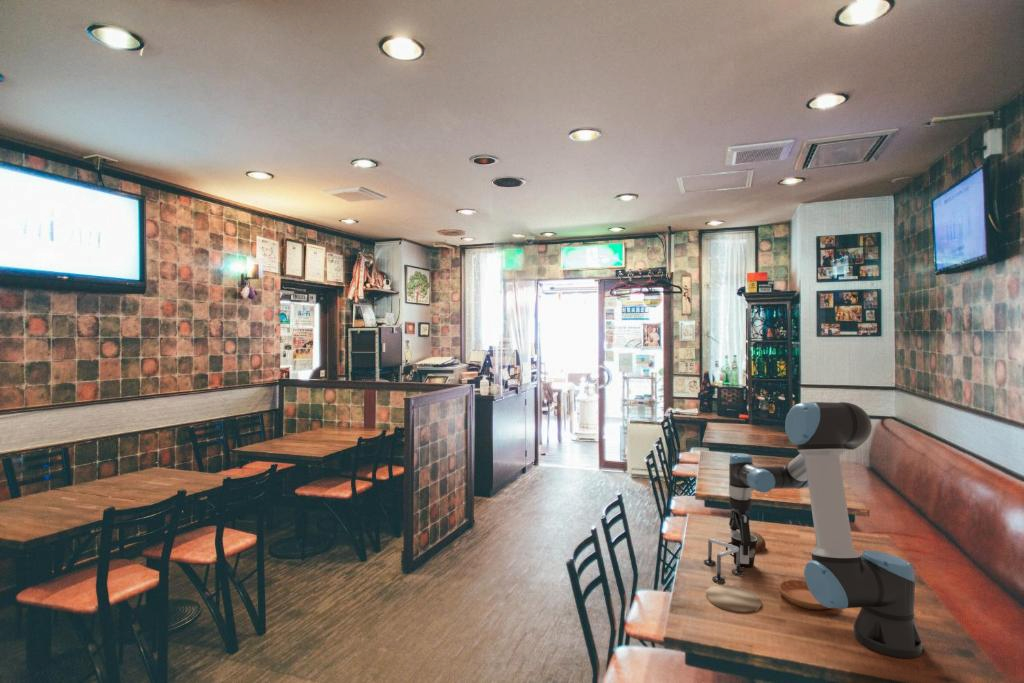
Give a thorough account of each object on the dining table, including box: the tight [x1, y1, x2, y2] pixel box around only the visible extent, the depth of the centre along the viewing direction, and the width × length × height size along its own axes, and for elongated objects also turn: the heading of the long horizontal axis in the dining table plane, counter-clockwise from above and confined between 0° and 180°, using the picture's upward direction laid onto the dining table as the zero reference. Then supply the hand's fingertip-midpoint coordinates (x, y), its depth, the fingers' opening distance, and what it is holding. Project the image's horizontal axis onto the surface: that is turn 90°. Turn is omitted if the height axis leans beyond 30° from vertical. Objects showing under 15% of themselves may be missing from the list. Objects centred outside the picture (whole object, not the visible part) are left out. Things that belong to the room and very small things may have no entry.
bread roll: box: [750, 530, 766, 552], centre depth 211 cm, size 10×10×8 cm
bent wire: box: [703, 537, 745, 584], centre depth 187 cm, size 18×12×9 cm, turn 171°
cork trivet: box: [705, 584, 762, 614], centre depth 168 cm, size 16×16×1 cm
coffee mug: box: [725, 532, 757, 569], centre depth 194 cm, size 12×9×10 cm
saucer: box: [778, 579, 829, 611], centre depth 168 cm, size 16×16×3 cm
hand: (739, 555), depth 194 cm, fingers open, 13 cm apart
